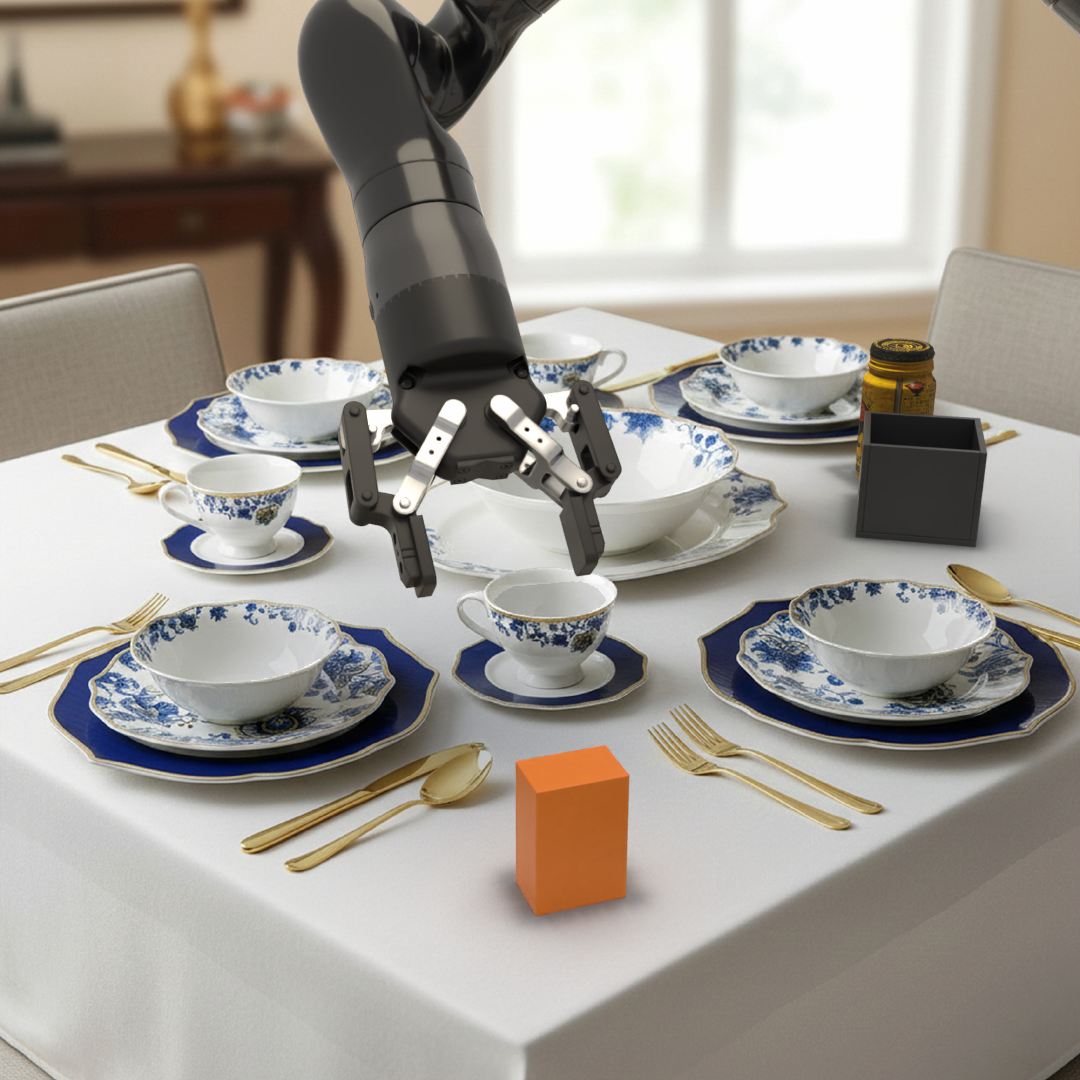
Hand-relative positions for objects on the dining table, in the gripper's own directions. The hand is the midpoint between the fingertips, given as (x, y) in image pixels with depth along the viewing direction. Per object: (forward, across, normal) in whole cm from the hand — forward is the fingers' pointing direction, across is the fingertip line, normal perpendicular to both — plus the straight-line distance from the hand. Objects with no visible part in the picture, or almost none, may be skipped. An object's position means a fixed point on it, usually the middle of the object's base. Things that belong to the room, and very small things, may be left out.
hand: (509, 580), depth 74 cm
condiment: (-17, +48, +35) cm, 62 cm away
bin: (-11, +43, +29) cm, 53 cm away
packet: (+15, 0, +2) cm, 16 cm away
